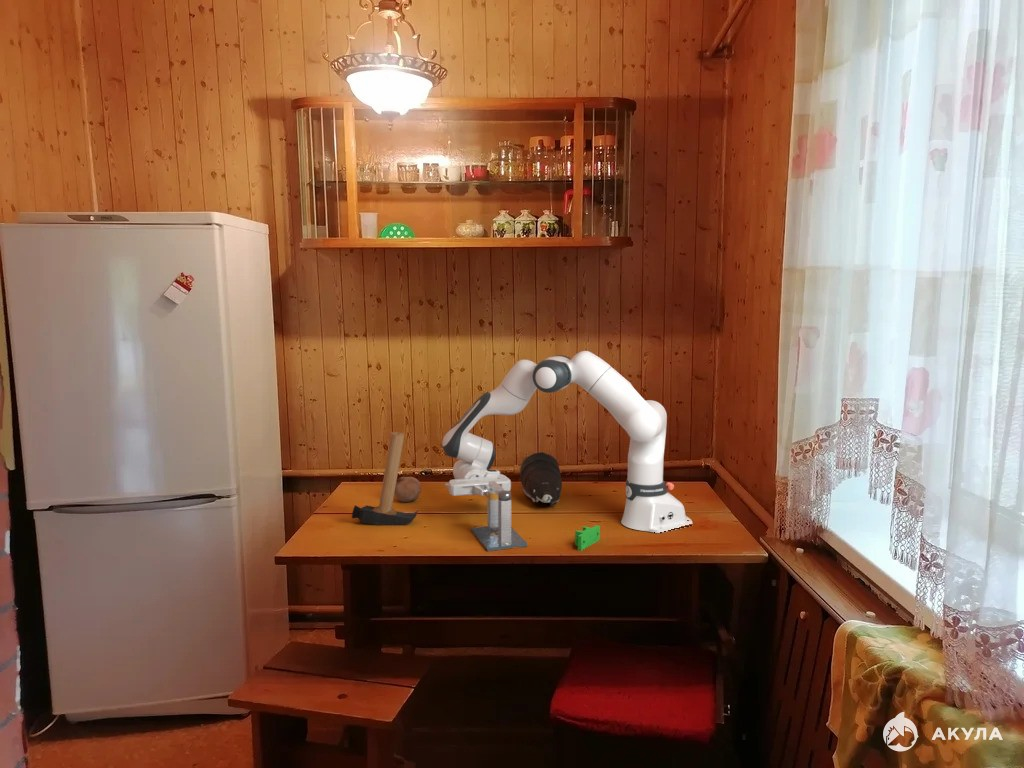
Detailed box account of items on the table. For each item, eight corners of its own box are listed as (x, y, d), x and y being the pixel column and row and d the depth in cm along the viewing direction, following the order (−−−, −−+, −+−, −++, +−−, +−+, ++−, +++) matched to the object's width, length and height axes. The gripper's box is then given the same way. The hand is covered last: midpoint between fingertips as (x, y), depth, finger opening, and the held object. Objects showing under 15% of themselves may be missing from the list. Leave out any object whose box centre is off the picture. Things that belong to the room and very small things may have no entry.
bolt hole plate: (508, 526, 222) (508, 523, 222) (527, 546, 205) (527, 542, 205) (471, 530, 218) (471, 527, 218) (488, 551, 201) (487, 547, 201)
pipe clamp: (588, 538, 213) (588, 523, 212) (599, 540, 211) (600, 525, 210) (569, 548, 204) (570, 533, 203) (581, 551, 201) (581, 536, 201)
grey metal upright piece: (497, 527, 218) (497, 480, 216) (512, 543, 205) (512, 493, 202) (486, 528, 217) (485, 481, 215) (500, 544, 203) (500, 494, 201)
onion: (398, 511, 247) (385, 488, 243) (405, 496, 255) (392, 474, 252) (422, 503, 244) (409, 480, 241) (428, 489, 253) (416, 466, 249)
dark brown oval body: (528, 479, 232) (522, 448, 256) (521, 520, 237) (515, 486, 261) (572, 484, 234) (562, 453, 258) (564, 524, 239) (555, 490, 262)
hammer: (415, 527, 228) (431, 437, 224) (413, 532, 223) (429, 441, 219) (354, 515, 228) (369, 426, 224) (351, 520, 223) (366, 429, 219)
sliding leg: (497, 526, 218) (496, 487, 216) (500, 530, 215) (500, 490, 213) (487, 527, 217) (486, 488, 215) (490, 531, 214) (490, 491, 212)
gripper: (443, 474, 230) (453, 485, 217) (503, 469, 237) (516, 480, 224) (443, 492, 231) (453, 505, 218) (503, 488, 238) (516, 500, 225)
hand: (486, 492), depth 221 cm, fingers closed
